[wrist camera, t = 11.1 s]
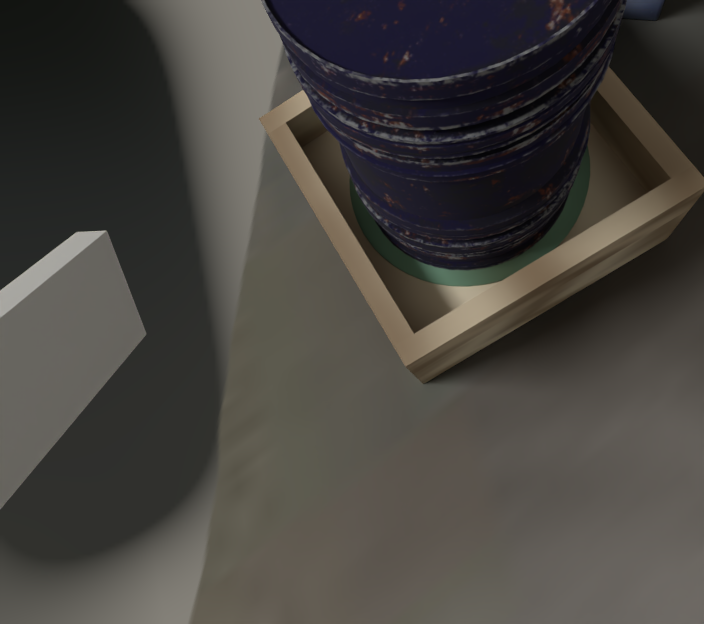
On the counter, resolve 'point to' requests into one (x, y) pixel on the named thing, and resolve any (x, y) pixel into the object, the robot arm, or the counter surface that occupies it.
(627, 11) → the small box
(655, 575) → the counter surface
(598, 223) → the open wooden box
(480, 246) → the blue metal drum
